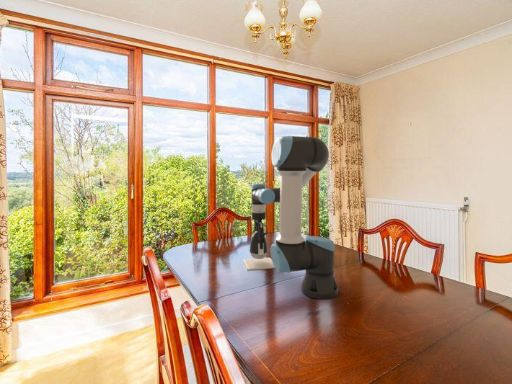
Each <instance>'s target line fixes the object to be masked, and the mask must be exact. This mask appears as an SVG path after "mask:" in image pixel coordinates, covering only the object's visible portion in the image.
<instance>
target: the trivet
mask: <svg viewBox="0 0 512 384" xmlns="http://www.w3.org/2000/svg"><path fill="white" fill-rule="evenodd" d="M242 263H243V265H244V267H245V269H246V271H255V270H264V269H265V270H268V269H269V270H270V269H276V268H275V267H274V265H273V262H272V258H271V256H270V257H264V258H262V259H255V258H246V259H245V258H244V259H242Z"/></svg>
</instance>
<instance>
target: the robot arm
mask: <svg viewBox="0 0 512 384" xmlns="http://www.w3.org/2000/svg"><path fill="white" fill-rule="evenodd" d="M329 159H330V152H329V148H328V146H327V144H326V143H325V142H324V141H323V140H322V139H320V138H318V137H315V136H297V135H286V136H285V135H284V136H279V137H278V138H276V140H275V141H274V143H273V146H272V148H271V164H272V166H273V167H275V168H276V172H277V174H279V176H280V182H279V183H280V187H270V188H269V187H268V188H267V187H266V184H265V183H252V184H251V188H250V189H251V190H250V191H251V219H252V220H254V221H253V222H254V223H253V234H254V233H255V232H256V231H258V239H259V242H257V243H258V255H264V242H265V241H264V233H265V231H264V230H265V229H264V227H265V226H264V223H263V220H265V219H266V208H267V205H269V204H272V203H273V204H275V203H279V234H278V235H277V236H276V238H275V242H274V243H272V244H271V245H270V249H269V250H270V259H271V260H272V262H273V265H274V267H275V268H274V269H275V270H276V271H277V272H278V273H280V274H283V273H289V274H290V273H293V272H300V271H305V274H304V277H303V279H302V283H301V292H302V294H304V296H307V297H310V298H312V299H318V300H328V299H332V298H335V297H337V296H338V293H339V286H338V284H337V280H336V277H335V243H334V241H333V240H331V239H330V238H327V237H322V236H318V235H317V236H315V235H309V236H306V237H305V238H304V236H303V235H302V206H303V189H304V188H305V186H306V185H307V184H308V183H309V182H310V180H311V179H312V178H313V177H314V176H315V175H316V174H317V173H318V172H321V171H323V169H324V168H325V167H326V166H327V163H328V161H329Z"/></svg>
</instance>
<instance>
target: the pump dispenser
mask: <svg viewBox="0 0 512 384" xmlns="http://www.w3.org/2000/svg"><path fill="white" fill-rule="evenodd" d="M268 234H269V232H268V231H267V232H265V231H264V241H265V242H264V255H258V243H257V242H259V239H258V231H256V232H255V233H254V232H253V234H252V236H251V239H250V242H249V253H250V256H251V257H252V259H262V258H267V255H268V252H269V247H268V242H267V237H266V236H267V235H268Z"/></svg>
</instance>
